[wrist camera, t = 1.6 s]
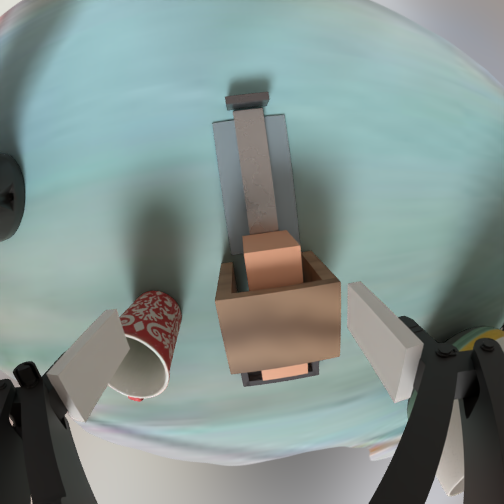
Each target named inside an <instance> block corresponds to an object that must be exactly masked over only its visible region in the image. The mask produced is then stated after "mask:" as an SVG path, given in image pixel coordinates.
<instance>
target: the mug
mask: <svg viewBox="0 0 504 504" xmlns="http://www.w3.org/2000/svg"><path fill="white" fill-rule="evenodd" d="M119 318H120V321H121V324H122V327H123V330H124V333H125V336H126V339H127V342H128V345H129V347H130V350H129V351H128V353H127V354H126V356H125V357H124V359H123V361H122V362H121V364H120V366H119V367H118V369H117V370H116V372H115V374H114V375H113V377H112V379H111V380H110V382H109V383H108V386H110V387H111V388H113V389H114V390H116V391H118V392H119V393H121V394H124V395H127V396H128V398H129V399H131V400H134V401H142V400H143V399H144V398H152V397H154V396H157V395H159V394H160V393H162V392H163V391H164V390H165V389H166V387H167V385H168V383H169V377H170V373H169V371H170V366H171V362H172V358H173V353H174V349H175V344H176V341H177V336H178V332H179V329H180V324H181V319H182V315H181V310H180V308H179V306H178V304H177V302H176V301H175V300H174V299H173V298H172V297H170V296H169V295H168V294H166V293H163V292H160V291H148V292H145V293H143V294H142V295H140V296H139V297H138V298H137V299H136V300H135V301H134V303H133V304H132V305H131V306H130V307H129V308H128V309H127V310H126V311H125V312H124V313H123V314H122V315H121V316H120V317H119Z"/></svg>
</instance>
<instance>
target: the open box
mask: <svg viewBox="0 0 504 504" xmlns="http://www.w3.org/2000/svg"><path fill="white" fill-rule="evenodd" d="M301 259H302V272H303V283H300V284H294V285H288V286H281V287H275V288H268V289H261V290H254V291H247V292H240V293H238V292H237V286H236V280H235V274H234V267H233V262H229V263H222V264H221V268H220V274H219V280H218V286H217V292H216V297H215V304H216V309H217V313H218V318H219V323H220V328H221V332H222V337H223V341H224V346H225V350H226V355H227V359H228V364H229V368H230V372H231V374H239V373H247V372H255V371H262V370H269V369H276V368H282V367H288V366H294V365H300V364H305V363H310V362H315V361H320V360H325V359H330V358H334V357H339V356H340V336H341V282H340V281H339V280H338V278H337V277H336V276H335V275H334V274H333V273H332V272H331V271H330V270H329V269H328V268H327V267H326V266H325V265H324V264H323V263H322V261H321V260H320V259H319V258H318V257H317V256H316V255H315V254H314V253H313V252H312V251H306V252H301Z"/></svg>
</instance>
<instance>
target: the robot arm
mask: <svg viewBox="0 0 504 504" xmlns="http://www.w3.org/2000/svg"><path fill="white" fill-rule="evenodd" d="M24 202H25V190H24V182H23V177H22V173H21V170H20V168H19V166H18V164H17V162H16V161H15V160H14V159H13V157H11V156H10V155H8V154H0V242H1V241H4V240H6V239H9V238H10V237H12V236H13V235H14V234H15V232H16V231H17V229H18V227H19V225H20V222H21V219H22V216H23V211H24ZM347 328H348V329H349V331H350V332H351V334H352V336H353V337H354V339H355V340H356V342H357V343H358V345H359V346H360V348H361V350H362V351H363V353H364V354H365V356H366V358H367V359H368V361H369V362H370V364H371V366H372V367H373V369H374V370H375V372H376V374H377V375H378V377H379V379H380V380H381V382H382V383H383V385H384V387H385V388H386V390H387V392H388V393H389V395H390V397H391V398H392V400H393V402H394V403H396V402H399V401H402V400H405V399H408V398H410V397H411V393H412V390H413V387H414V389H415V390H416V392H417V396H416V399H415V402H414V405H413V408H412V411H411V414H410V417H409V419H408V422H407V425H406V427H405V430H404V432H403V435H402V437H401V440H400V442H399V444H398V447H397V449H396V451H395V454H394V456H393V458H392V460H391V462H390V464H389V466H388V469H387V471H386V472H385V474H384V477H383V478H382V480H381V482H380V484H379V486H378V488H377V490H376V491H375V493H374V495H373V497H372V499H371V500H370V502H369V504H425V502H426V499H427V497H428V494H429V491H430V489H431V486H432V483H433V481H434V478H435V475H436V472H437V469H438V466H439V462H440V459H441V456H442V452H443V449H444V445H445V441H446V437H447V433H448V428H449V424H450V419H451V414H452V409H453V403H454V400H456V399H458V402H459V409H460V417H461V425H462V436H463V450H464V502H463V503H464V504H504V352H503V350H502V348H501V346H500V344H499V343H498V342H497V341H495V340H494V339H492V338H480V339H478V340H476V341H475V343H474V346H473V350H467V351H459V350H458V349H457V348H456V347H455V346H453V345H451V344H447V343H437V342H436V341H435V340H434V339H433V338H432V337H431V336H430V335H429V334H428V333H427V332H426V331H425V330H423V329H422V328H421V327H420V326H419V325H418V324H417V323H416V322H415V321H414V320H413V319H410V318H408V317H406V316H401V317H397V316H396V315H395V314H394V313H393V312H392V311H391V310H390V309H389V308H388V307H387V306H386V305H385V304H384V303H383V302H382V301H381V300H380V299H378V298H377V297H376V296H375V295H374V294H373V293H372V292H371V291H370V290H369V289H368V288H367V287H366V286H365V285H364V284H363V283H362V282H361V281H360V282H354V283H348V315H347ZM129 350H130V347H129V345H128V342H127V339H126V336H125V333H124V330H123V327H122V324H121V321H120V318H119V315H118V312H117V309H109V310H105V311H104V312H103V313H102V314H101V315H100V316H99V317H98V318H97V319H96V321H95V322H94V323H93V324H92V325H91V326H90V327H89V328H88V329H87V330H86V331H85V332H84V333H83V334H82V335H81V336H80V337H79V338H78V339H77V340H76V341H75V342H74V344H73V345H72V346H71V347H70V348H69V349H68V350H67V351H66V352H64V353H63V354H62V355H61V356H60V357H59V358H58V360H56V362H55V363H54V365H52V366H51V367H50V368H49V369H48V370H47V372H46V373H45V374H44V375H43V376H42V377H41V375H40V373H39V371H38V369H37V367H36V365H35V363H34V362H30V361H28V362H24V363H22V364H20V365H18V366H17V367H16V368H15V369H14V371H13V374H14V376H15V378H16V379H17V381H18V383H19V385H20V386H21V387H16V388H15V387H14V385H13V383H12V382H11V380H9V379H3V380H0V504H31V498H30V497H32V502H33V504H98V503H97V501H96V499H95V497H94V494H93V492H92V490H91V487H90V485H89V483H88V480H87V478H86V475H85V473H84V470H83V467H82V465H81V462H80V459H79V456H78V453H77V450H76V447H75V444H74V441H73V438H72V434H71V431H70V427H69V423H68V421H67V419H66V417H65V414H66V413H67V411H68V412H69V414H70V416H71V417H72V419H73V420H76V421H80V422H85V423H86V421H87V419H88V417H89V416H90V414H91V412H92V410H93V409H94V407H95V405H96V404H97V402H98V400H99V398H100V397H101V395H102V393H103V392H104V390H105V388H106V387H107V385H108V383H109V382H110V380H111V379H112V377H113V375H114V374H115V372H116V370H117V369H118V367H119V366H120V364H121V362H122V361H123V359H124V357H125V356H126V354H127V353H128V351H129ZM9 417H10V418H11V420H12V421H13V426H12V425H11V423H10V421H9Z"/></svg>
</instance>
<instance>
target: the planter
mask: <svg viewBox="0 0 504 504" xmlns="http://www.w3.org/2000/svg"><path fill="white" fill-rule="evenodd" d="M480 338H492V339H494V340H495V341H497V342H498V343H499V344H500V346H501V348H502V350H503V352H504V331H502V330H499V329H496V328H493V327H486V326H480V327H474V328H471V329H467V330H465V331H463V332H461V333H459V334H457V335H455V336H453V337H452V338H450V339H449V340H447V341H446V342H445V343H447V344H451V345H453V346H455V347H456V348H457V349H458V350H459V351H467V350H473V346H474V343H475V341H476V340H478V339H480ZM416 396H417V392H416V390H415V389H414V387H413V390H412V393H411V397H410V398H409V399H408V406H407V415H408V419H409V417H410V414H411V411H412V408H413V405H414V402H415V399H416ZM436 477H437V478H438V480H439V482H440V484H441V486H442V487H443V489H444V491H445V492H446V494H447V496H449V497H451V496H455V495H457V494H459V493H462V492H464V450H463V436H462V425H461V417H460V409H459V402H458V399H456V400H454V403H453V409H452V414H451V419H450V424H449V428H448V433H447V437H446V441H445V445H444V449H443V452H442V456H441V459H440V462H439V466H438V469H437V472H436Z"/></svg>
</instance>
